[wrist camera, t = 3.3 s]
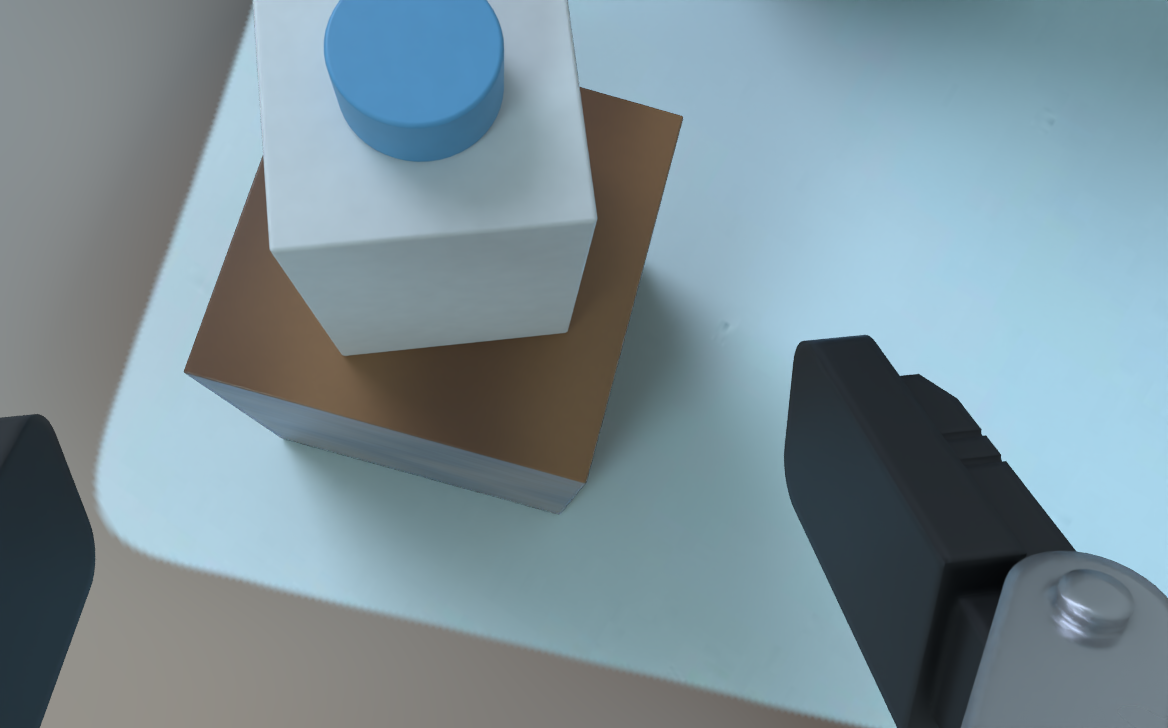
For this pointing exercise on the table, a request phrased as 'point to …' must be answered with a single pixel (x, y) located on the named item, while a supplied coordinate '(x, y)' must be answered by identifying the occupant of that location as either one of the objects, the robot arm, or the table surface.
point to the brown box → (450, 347)
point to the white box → (425, 167)
